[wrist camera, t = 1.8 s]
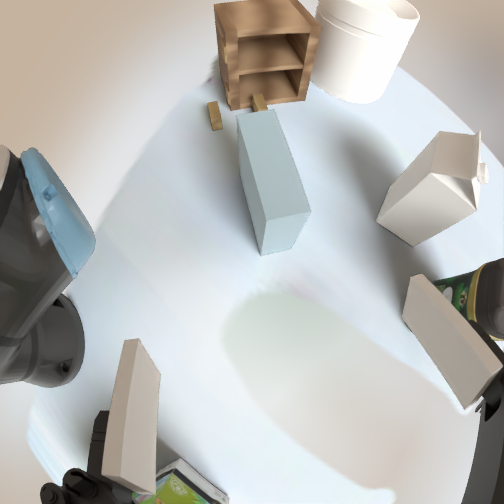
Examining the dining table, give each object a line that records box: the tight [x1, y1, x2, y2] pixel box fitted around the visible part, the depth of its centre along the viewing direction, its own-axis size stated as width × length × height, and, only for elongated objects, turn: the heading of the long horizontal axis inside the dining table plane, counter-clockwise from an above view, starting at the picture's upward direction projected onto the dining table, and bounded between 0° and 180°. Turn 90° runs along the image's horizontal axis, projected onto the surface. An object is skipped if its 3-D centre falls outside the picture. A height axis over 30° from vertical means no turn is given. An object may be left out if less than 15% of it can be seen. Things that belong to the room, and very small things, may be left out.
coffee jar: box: [409, 258, 504, 341], centre depth 26 cm, size 10×8×19 cm
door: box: [237, 109, 311, 256], centre depth 32 cm, size 4×12×13 cm, turn 13°
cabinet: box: [208, 0, 322, 131], centre depth 36 cm, size 16×14×16 cm
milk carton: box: [376, 131, 488, 247], centre depth 29 cm, size 7×7×19 cm
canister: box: [310, 0, 420, 103], centre depth 36 cm, size 16×16×20 cm
